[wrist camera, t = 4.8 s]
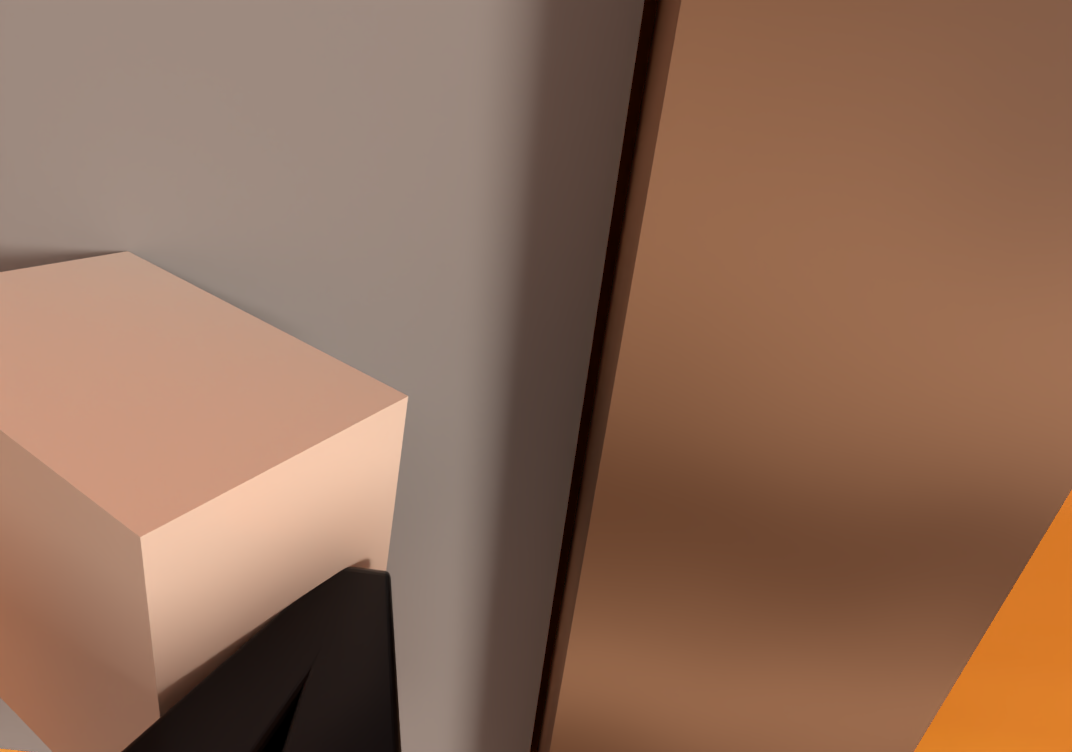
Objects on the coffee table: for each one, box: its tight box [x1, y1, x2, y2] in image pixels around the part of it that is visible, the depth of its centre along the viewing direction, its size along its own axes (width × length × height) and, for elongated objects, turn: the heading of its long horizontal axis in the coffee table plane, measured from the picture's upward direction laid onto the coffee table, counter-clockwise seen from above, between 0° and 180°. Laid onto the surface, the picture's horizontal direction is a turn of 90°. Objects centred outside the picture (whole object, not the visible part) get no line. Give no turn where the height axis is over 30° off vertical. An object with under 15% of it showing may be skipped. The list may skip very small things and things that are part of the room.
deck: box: [537, 0, 1072, 752], centre depth 10 cm, size 16×6×2 cm, turn 174°
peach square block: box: [0, 251, 408, 752], centre depth 8 cm, size 5×5×3 cm
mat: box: [0, 0, 645, 752], centre depth 11 cm, size 18×13×1 cm
